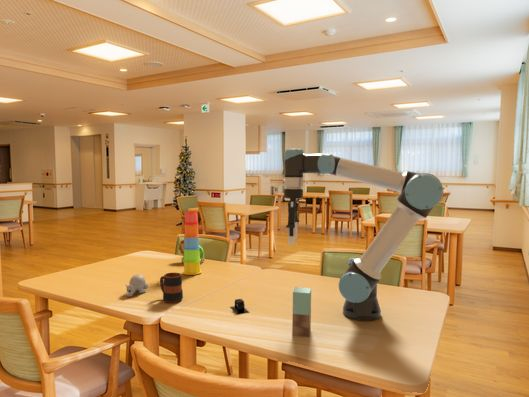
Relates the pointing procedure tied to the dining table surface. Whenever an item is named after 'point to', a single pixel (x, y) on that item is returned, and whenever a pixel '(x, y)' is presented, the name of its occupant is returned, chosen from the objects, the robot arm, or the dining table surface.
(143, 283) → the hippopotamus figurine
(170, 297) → the mug
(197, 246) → the stacking cups
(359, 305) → the robot arm
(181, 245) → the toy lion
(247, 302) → the dining table surface
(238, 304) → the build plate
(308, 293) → the teal block
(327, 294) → the dining table surface
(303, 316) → the walnut block
